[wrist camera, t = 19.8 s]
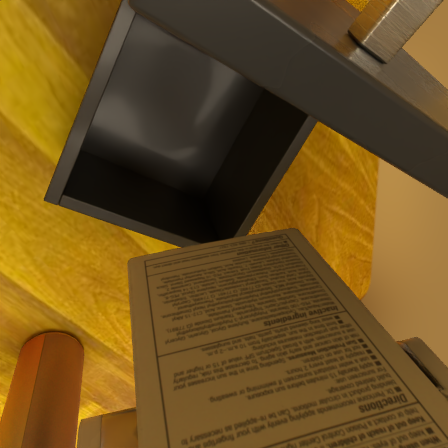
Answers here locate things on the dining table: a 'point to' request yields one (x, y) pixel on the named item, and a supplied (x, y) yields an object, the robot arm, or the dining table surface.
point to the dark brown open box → (174, 140)
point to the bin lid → (330, 68)
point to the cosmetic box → (268, 354)
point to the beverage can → (44, 394)
